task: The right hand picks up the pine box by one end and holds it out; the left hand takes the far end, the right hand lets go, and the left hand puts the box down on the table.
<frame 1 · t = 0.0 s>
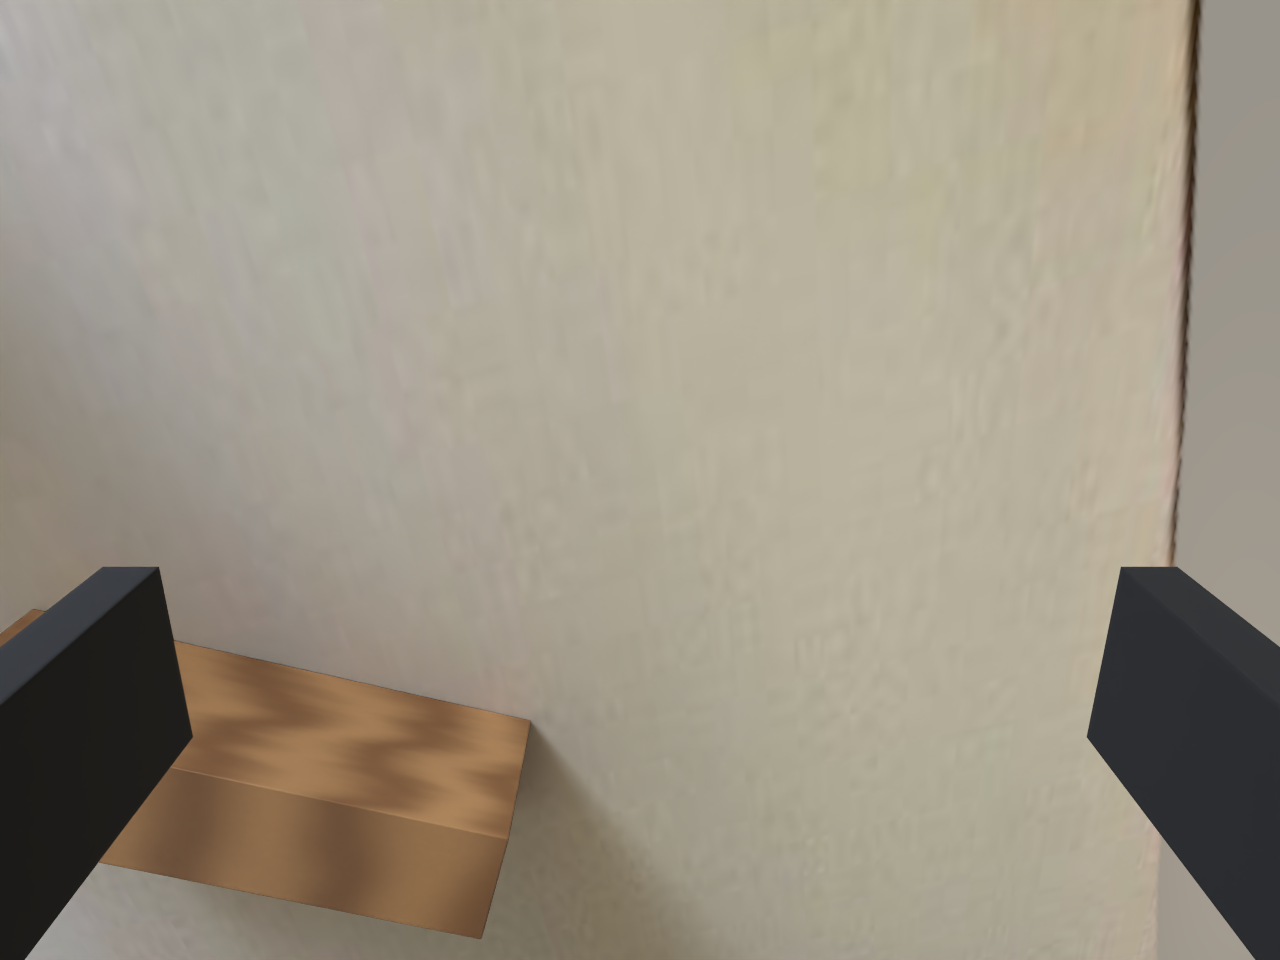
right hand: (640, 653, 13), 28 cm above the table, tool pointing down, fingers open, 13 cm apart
box: (280, 713, 46), on the table
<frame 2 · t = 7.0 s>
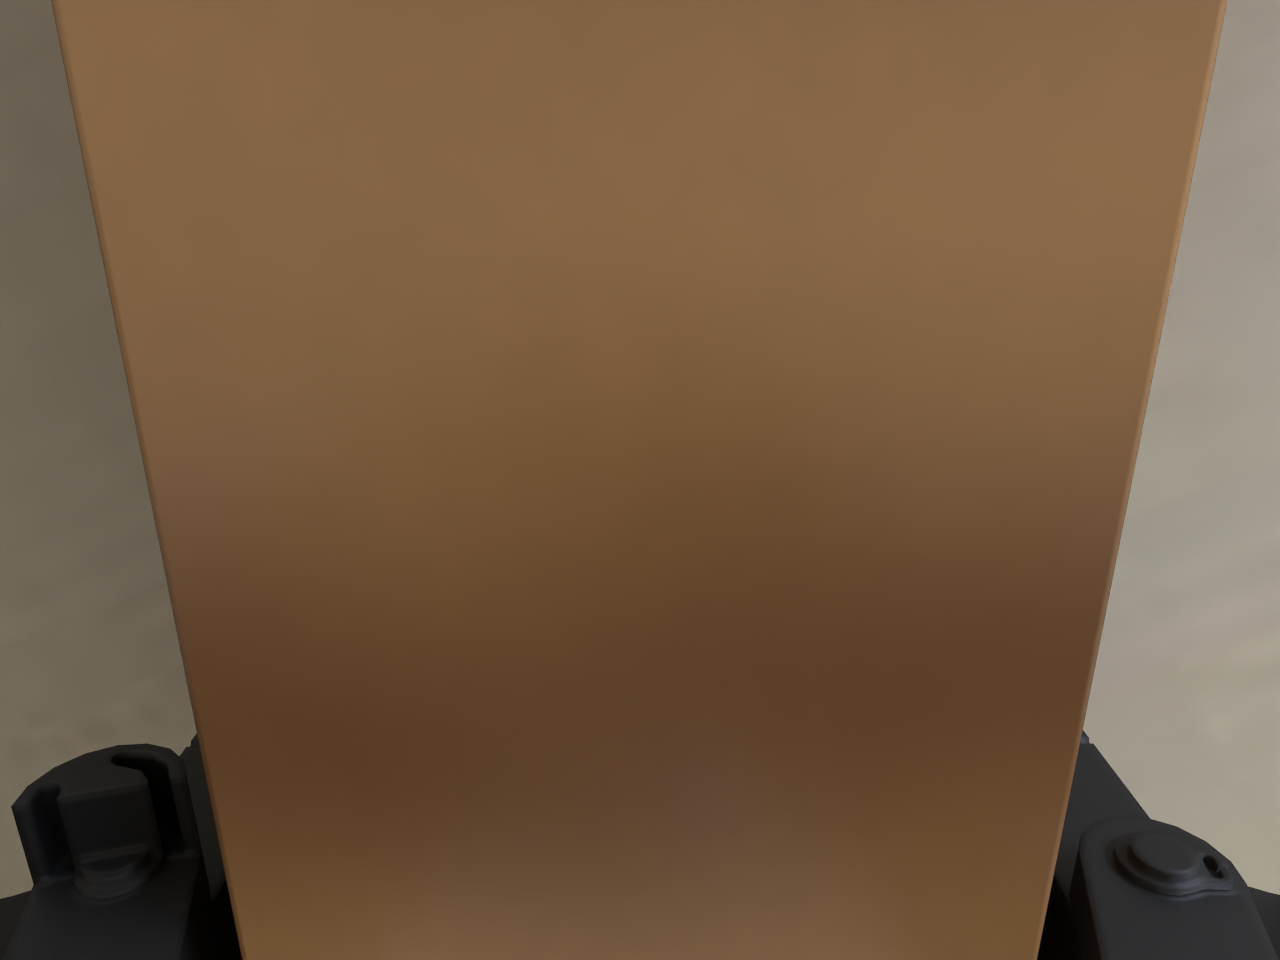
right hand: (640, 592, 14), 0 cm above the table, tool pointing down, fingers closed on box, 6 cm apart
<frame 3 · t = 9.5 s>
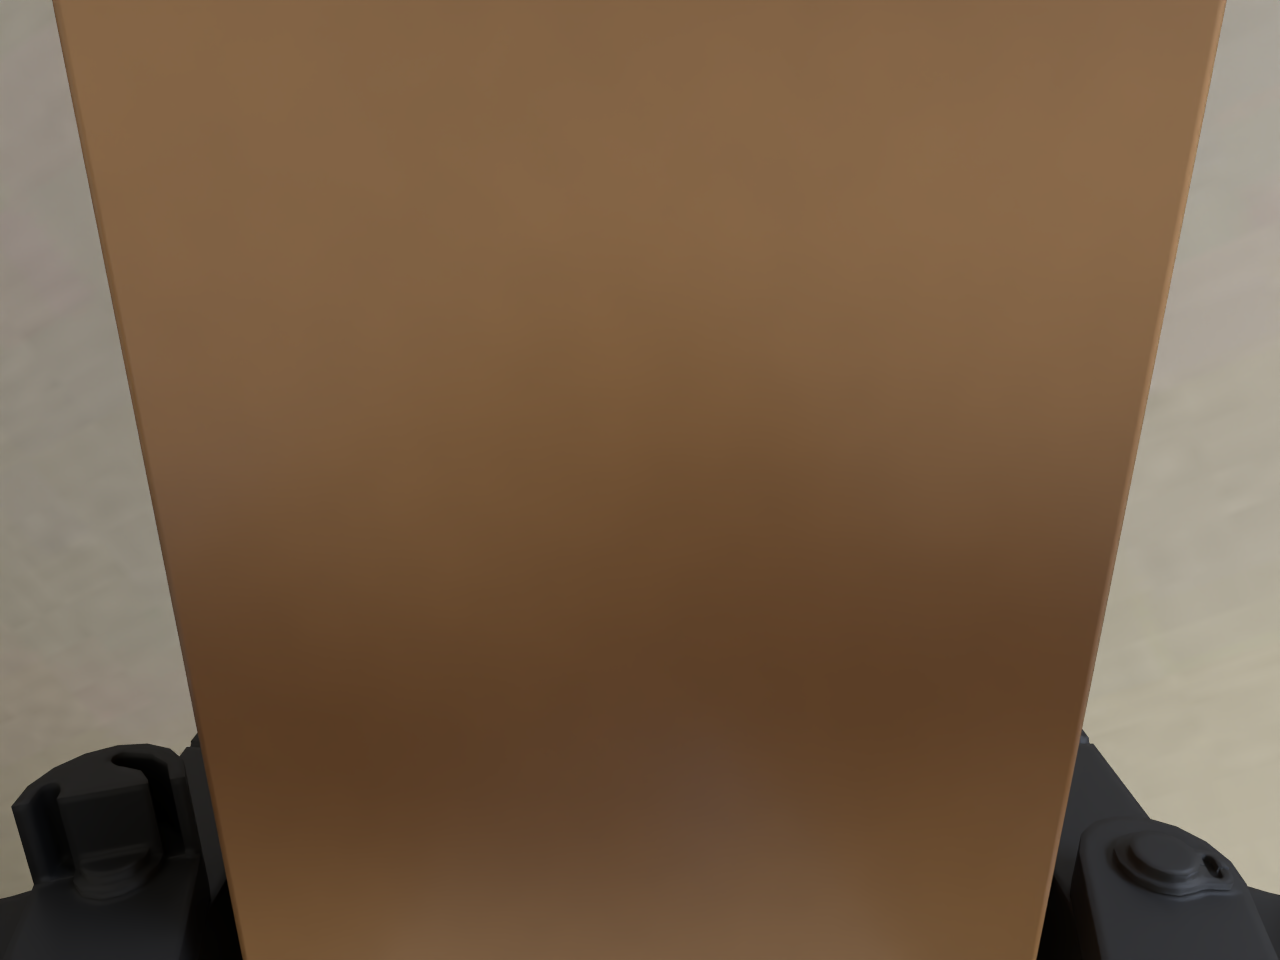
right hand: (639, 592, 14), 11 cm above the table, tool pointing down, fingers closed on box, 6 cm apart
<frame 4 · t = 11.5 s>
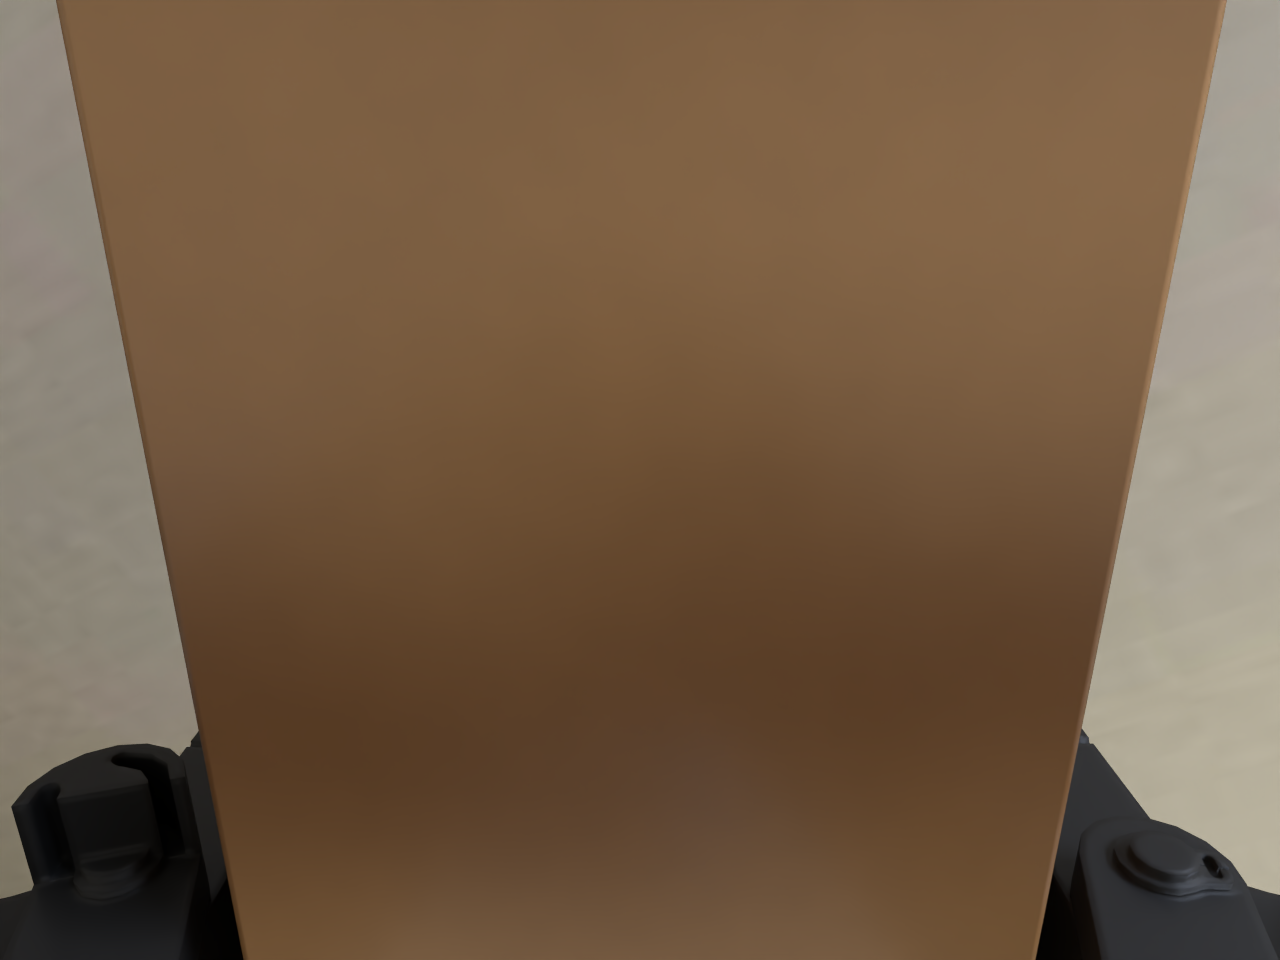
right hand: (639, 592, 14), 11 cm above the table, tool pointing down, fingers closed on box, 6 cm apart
when the right hand's fingers open (11 cm above the table, at t = 12.3 s): box stays where it is, held by the left hand.
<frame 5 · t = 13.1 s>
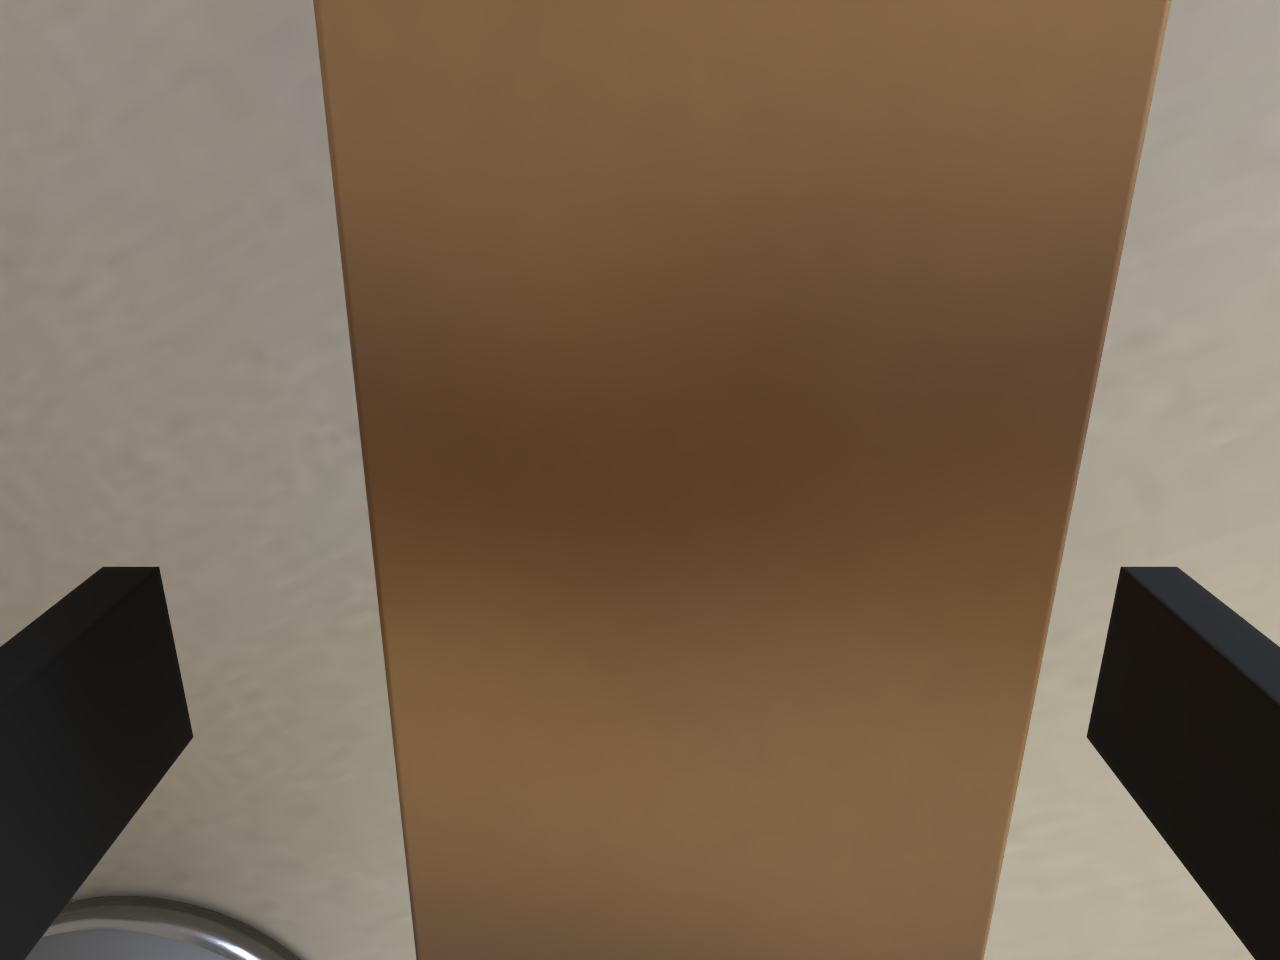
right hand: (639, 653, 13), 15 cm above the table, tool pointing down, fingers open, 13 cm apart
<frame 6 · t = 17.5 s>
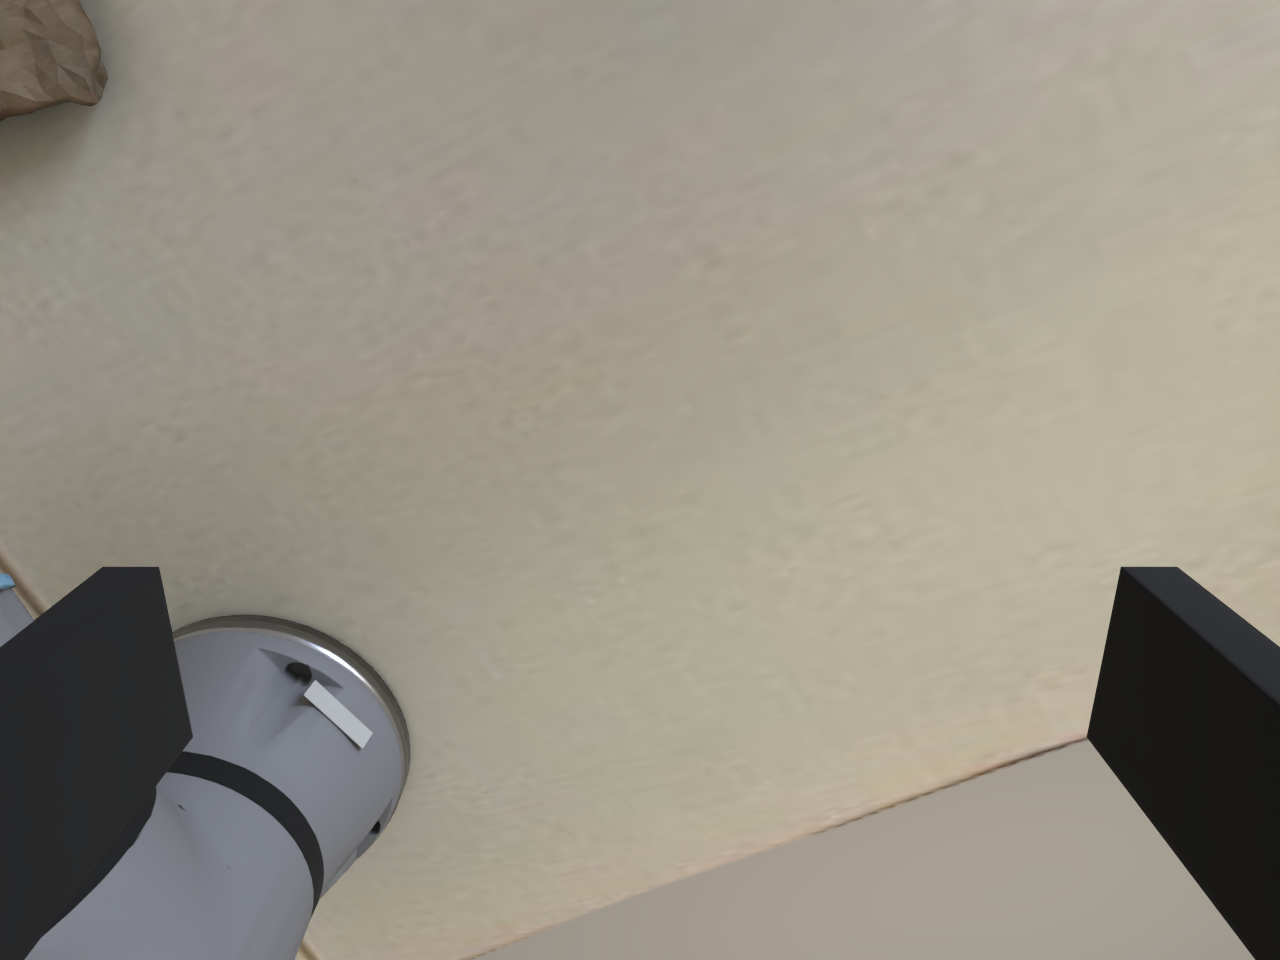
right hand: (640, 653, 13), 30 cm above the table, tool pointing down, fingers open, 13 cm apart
when the left hand's fingers open (6 cm above the table, at t = 24.0 s): box drops 1 cm, on the table.
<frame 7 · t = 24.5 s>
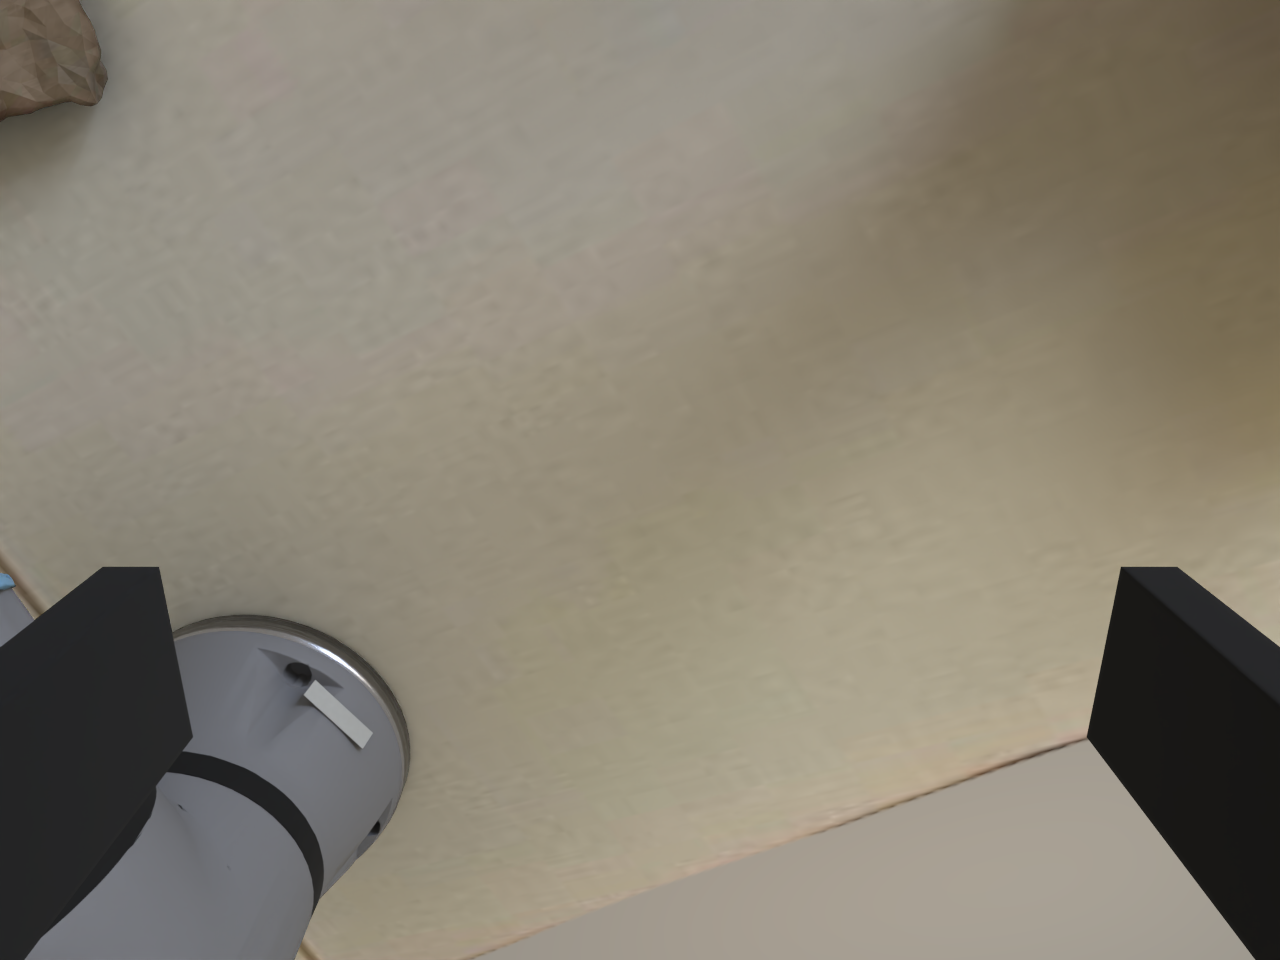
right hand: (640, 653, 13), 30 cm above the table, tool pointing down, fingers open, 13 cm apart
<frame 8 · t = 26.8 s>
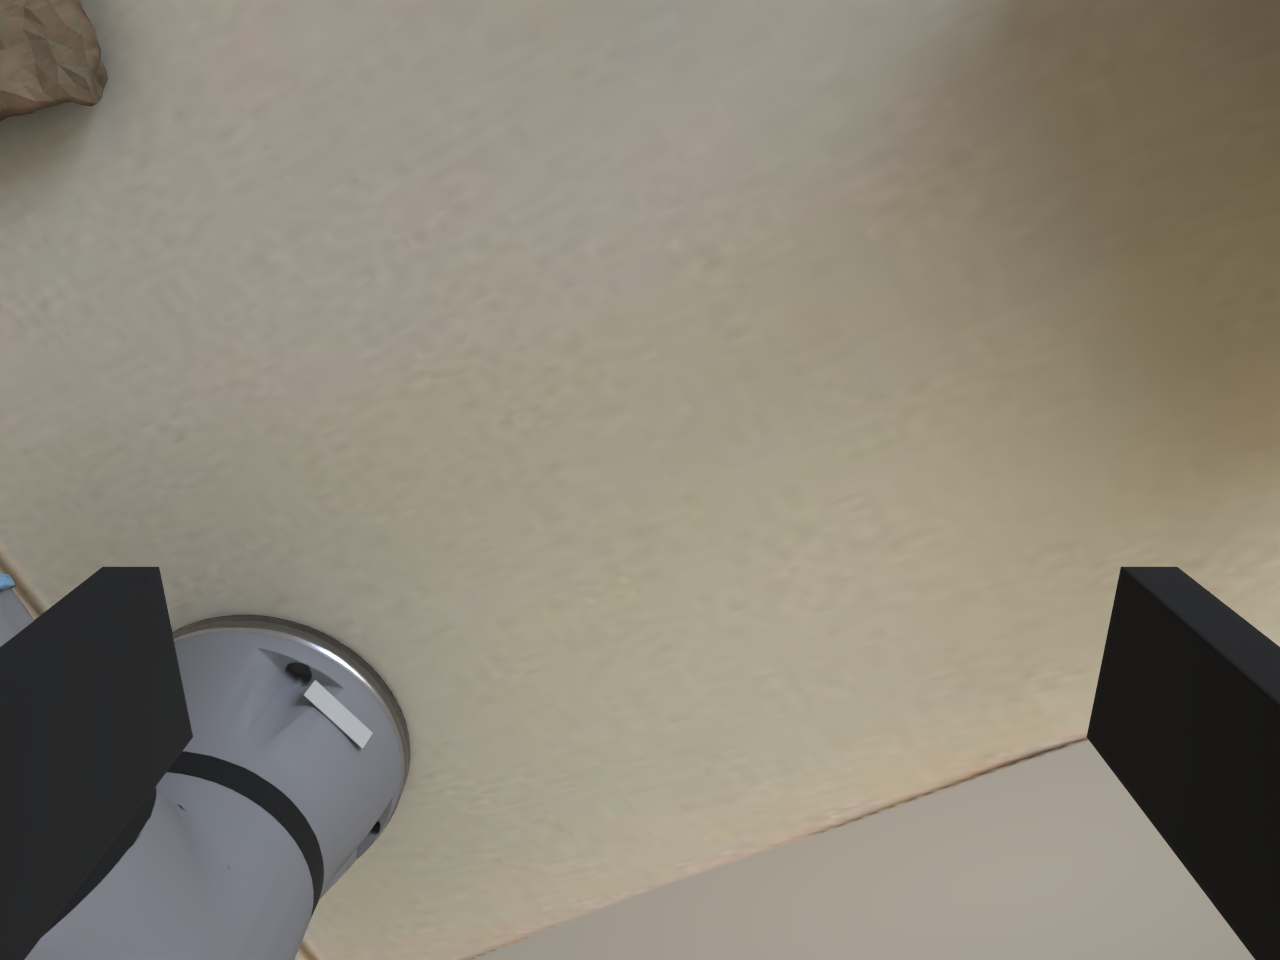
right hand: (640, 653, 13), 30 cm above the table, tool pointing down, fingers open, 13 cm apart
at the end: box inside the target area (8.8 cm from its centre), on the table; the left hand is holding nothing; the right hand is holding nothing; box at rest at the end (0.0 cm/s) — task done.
